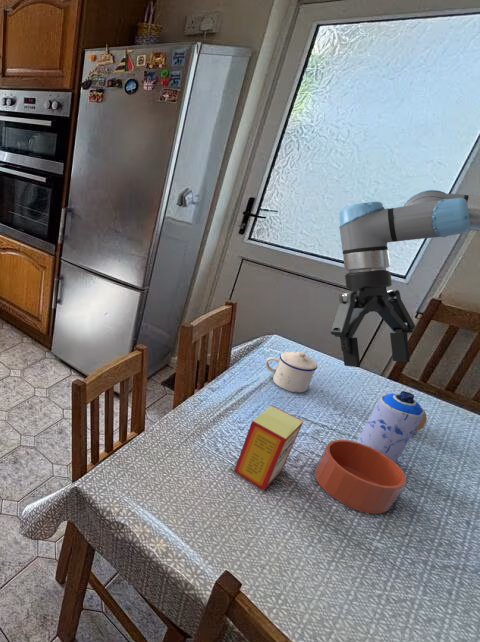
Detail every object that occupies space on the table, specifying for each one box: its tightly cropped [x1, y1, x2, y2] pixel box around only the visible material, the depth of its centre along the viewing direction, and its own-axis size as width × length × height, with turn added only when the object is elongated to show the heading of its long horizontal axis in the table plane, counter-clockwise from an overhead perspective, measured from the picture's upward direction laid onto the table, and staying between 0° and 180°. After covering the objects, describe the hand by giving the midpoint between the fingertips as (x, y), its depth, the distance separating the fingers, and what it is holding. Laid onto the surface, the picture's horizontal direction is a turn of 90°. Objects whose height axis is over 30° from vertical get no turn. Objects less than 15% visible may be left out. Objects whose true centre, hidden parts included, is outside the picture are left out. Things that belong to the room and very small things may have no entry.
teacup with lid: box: [264, 350, 318, 394], centre depth 126 cm, size 12×9×12 cm
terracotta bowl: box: [314, 439, 407, 515], centre depth 92 cm, size 13×13×8 cm
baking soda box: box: [233, 404, 304, 491], centre depth 95 cm, size 10×6×16 cm
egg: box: [414, 408, 428, 433], centre depth 108 cm, size 5×5×8 cm
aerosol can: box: [356, 390, 425, 464], centre depth 97 cm, size 8×8×20 cm
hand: (377, 364), depth 93 cm, fingers open, 13 cm apart
